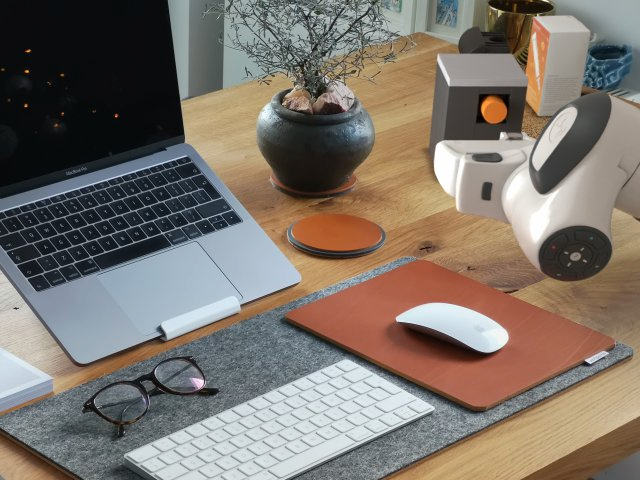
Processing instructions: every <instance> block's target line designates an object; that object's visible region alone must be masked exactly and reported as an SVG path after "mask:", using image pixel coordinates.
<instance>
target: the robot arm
mask: <svg viewBox="0 0 640 480" xmlns="http://www.w3.org/2000/svg"><path fill="white" fill-rule="evenodd" d="M433 170H434V174H435V176H436V178H437V181H438V182H439V184H440V186H441V187H442V189H443V190H444V192H445V193H446V194H447V195H448V196H450V197H452V198H454V199H455V209H456V211H457V212H458V213H460V214H463V215H469V216H476V217H481V218H486V219H490V220H495V221H498V222H501V223H504V224H506V225H511V227H512V232H513V235H514V238H515V239H516V241H517V244H518V246H519V247H520V249H521V251H522V253H523V254H524V256H525V258H527V260H528V261H529V262H530V264H531V265H532V266H533V267H534V268H535V269H536V270H537V271H538V272H539V273H541V274H542V275H543V276H545V277H548V278H549V279H552V280H555V281H558V282H566V283H568V282H569V283H572V282H573V283H574V282H580V281H584V280H587V279H590V278H593V277H595V276H596V275H598V274H600V273H601V272H602V271H603V270H604V269H605V268H607V266H608V265H609V264H610V262H611V260H612V258H613V255H614V238H613V234H612V217H613V212H614V209H616V210H618V211H620V212H623V213H625V214H627V215H629V216H631V217H632V218H634V219H635V220H636V221H637V222H640V108H639V107H637V106H635V105H633V104H631V103H628V102H626V101H624V100H622V99H620V98H618V97H615V96H613V95H612V94H608V93H607V92H605V91H594V92H590V93H587V94H584V95H581V96H580V97H579V98H577V99H575V100H573V101H572V102H570V103H568V104H566V105H565V106H563V107H562V108H560V109H559V110H558V111H557V112H556V113H555V114H554V115H553V116H550V118H549V119H548V120H547V122H546V124H545V125H544V127H543V128H542V130H541V131H540V133H539V135H538V137H537V138H535V137H532V136H528V134H527V132H526V131H521V132H501V134H500V139H499V140H444V141H441V142H439V143H438V144H437V145H436V150H435V159H434V163H433Z"/></svg>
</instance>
